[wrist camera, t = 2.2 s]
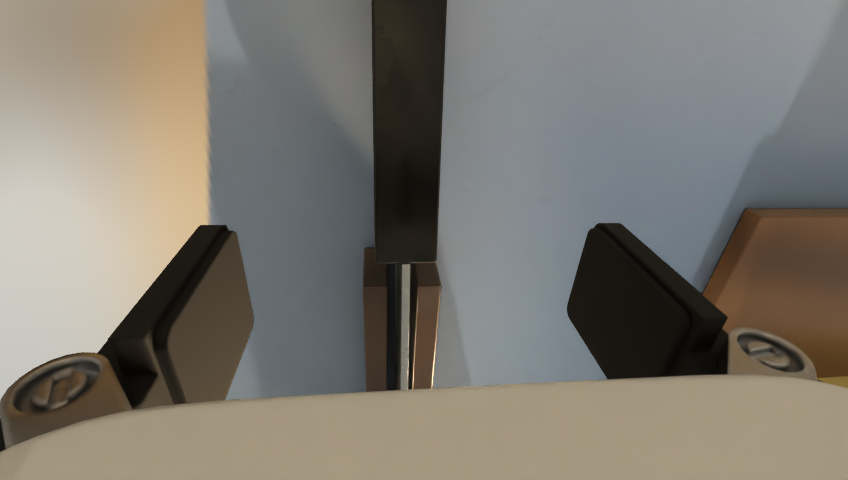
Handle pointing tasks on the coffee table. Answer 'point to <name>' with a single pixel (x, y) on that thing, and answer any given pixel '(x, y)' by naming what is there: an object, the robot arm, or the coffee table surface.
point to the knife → (407, 144)
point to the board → (789, 281)
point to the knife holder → (420, 323)
